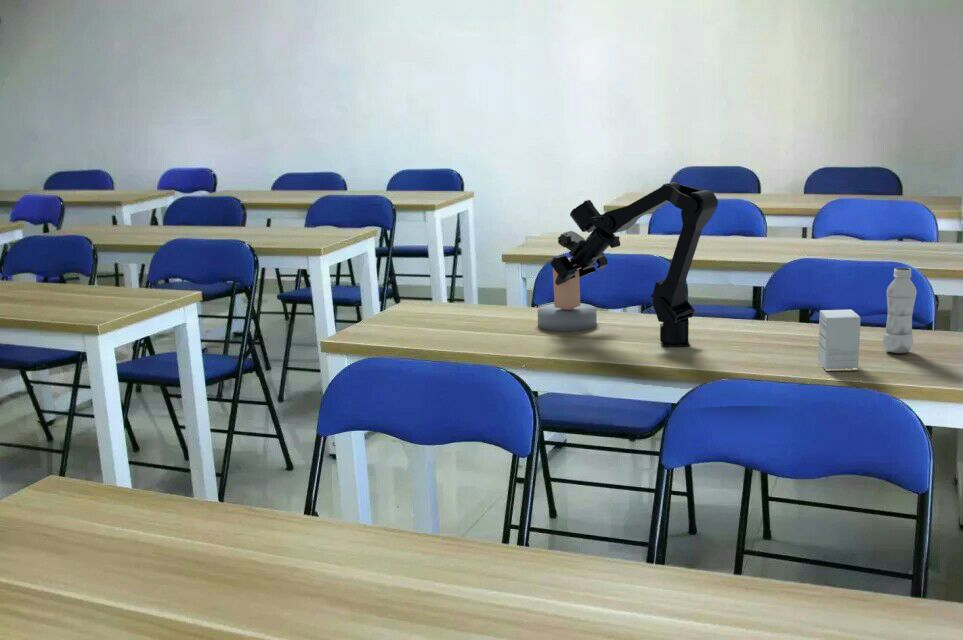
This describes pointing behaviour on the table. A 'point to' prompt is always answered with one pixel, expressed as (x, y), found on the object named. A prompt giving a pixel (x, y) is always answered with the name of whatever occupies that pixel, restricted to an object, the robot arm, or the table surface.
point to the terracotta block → (567, 292)
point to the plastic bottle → (900, 312)
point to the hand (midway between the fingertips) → (562, 282)
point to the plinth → (567, 318)
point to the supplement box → (839, 339)
